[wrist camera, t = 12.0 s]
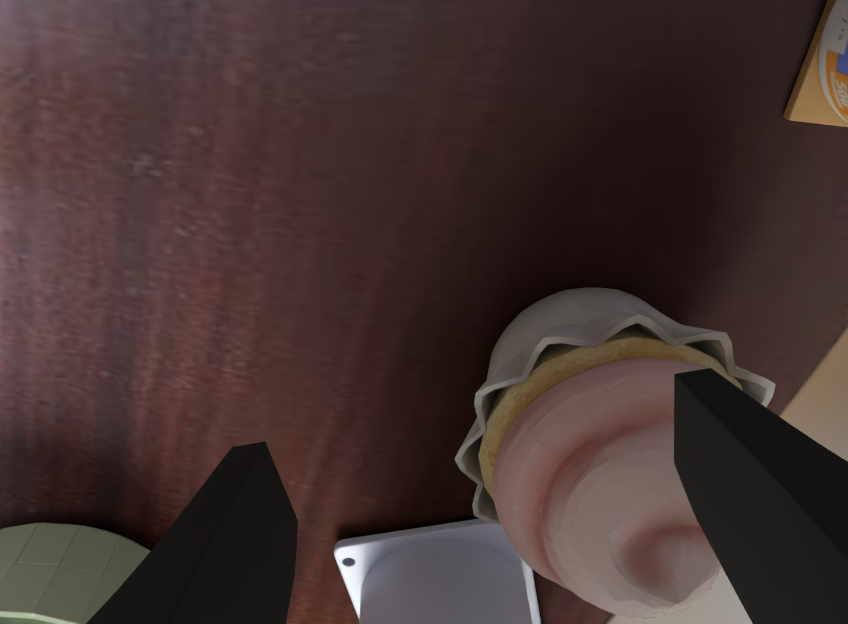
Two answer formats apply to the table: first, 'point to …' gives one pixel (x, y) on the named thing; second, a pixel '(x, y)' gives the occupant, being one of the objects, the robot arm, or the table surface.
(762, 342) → the table surface
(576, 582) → the cupcake
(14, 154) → the table surface
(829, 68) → the pill bottle
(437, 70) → the table surface
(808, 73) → the coaster
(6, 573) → the bowl
